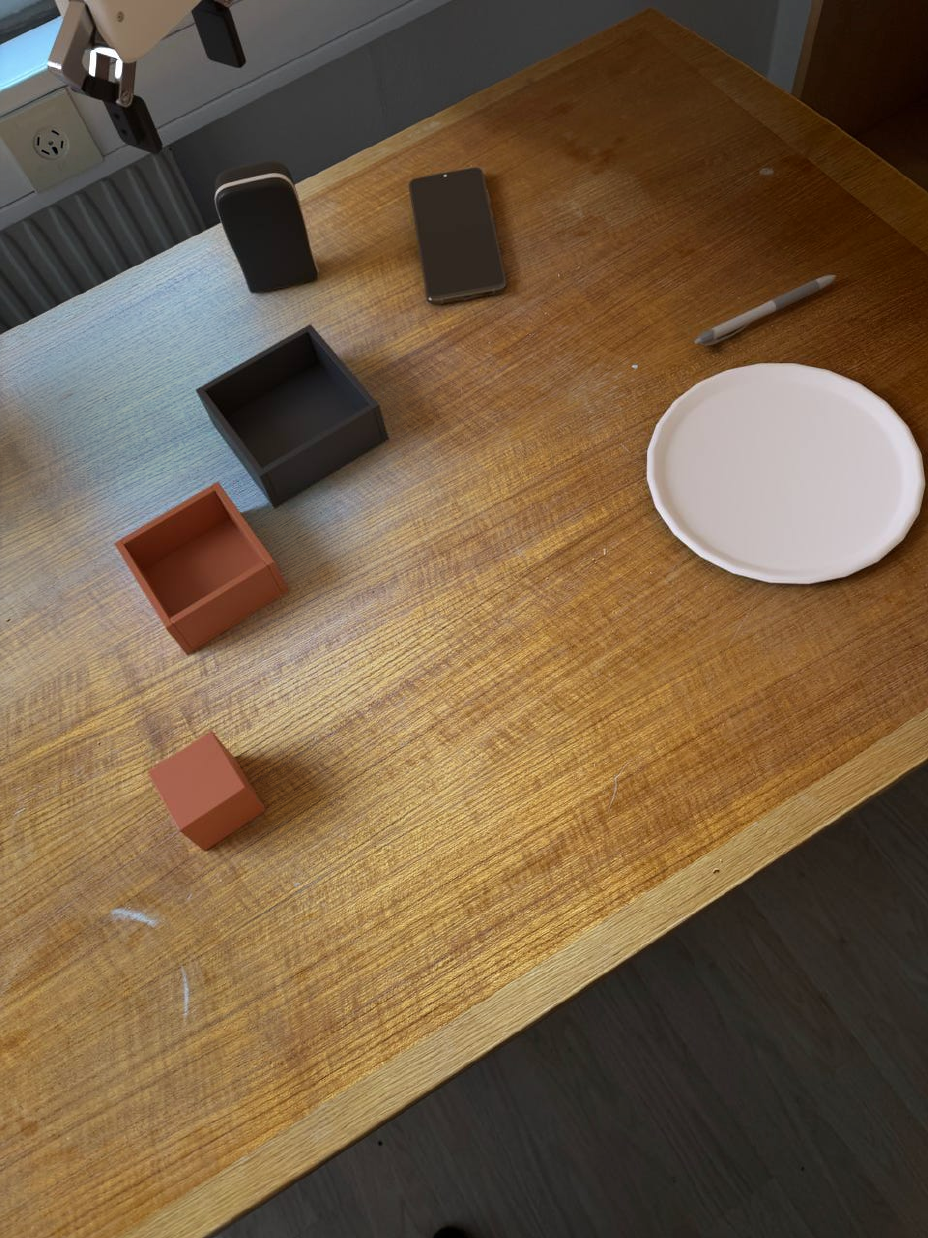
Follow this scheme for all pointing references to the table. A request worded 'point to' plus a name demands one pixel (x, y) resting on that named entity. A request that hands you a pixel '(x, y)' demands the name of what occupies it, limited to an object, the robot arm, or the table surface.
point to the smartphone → (456, 236)
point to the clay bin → (202, 567)
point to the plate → (785, 473)
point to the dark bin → (293, 415)
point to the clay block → (206, 791)
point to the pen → (762, 311)
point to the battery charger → (265, 225)
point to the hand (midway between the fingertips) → (187, 103)
